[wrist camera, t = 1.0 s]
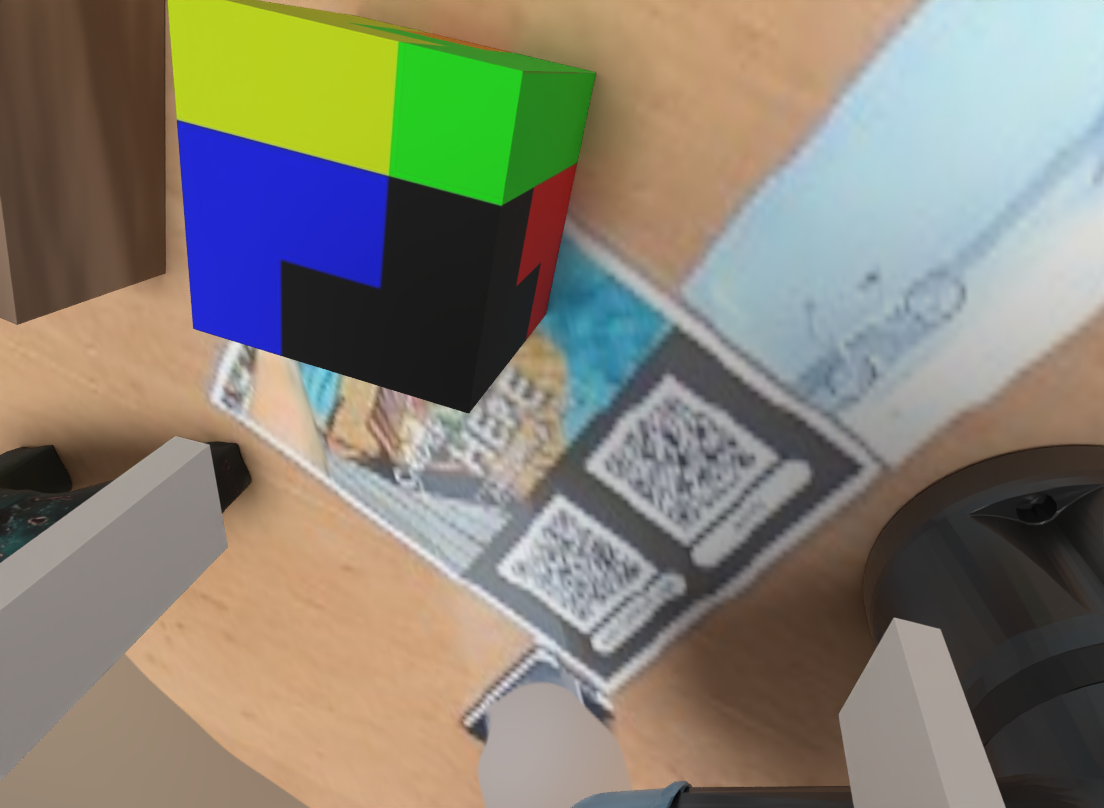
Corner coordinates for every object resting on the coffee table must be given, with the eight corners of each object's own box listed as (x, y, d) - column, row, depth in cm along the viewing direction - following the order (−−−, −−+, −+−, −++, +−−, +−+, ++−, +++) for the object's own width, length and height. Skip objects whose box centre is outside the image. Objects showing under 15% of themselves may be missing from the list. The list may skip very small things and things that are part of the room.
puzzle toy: (345, 257, 31) (193, 328, 22) (355, 15, 26) (166, -15, 17) (546, 314, 30) (468, 413, 21) (596, 72, 25) (523, 70, 16)
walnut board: (163, -232, 24) (-72, -358, 17) (165, 273, 34) (17, 324, 27) (91, -257, 24) (-171, -392, 17) (114, 252, 34) (-46, 298, 27)
